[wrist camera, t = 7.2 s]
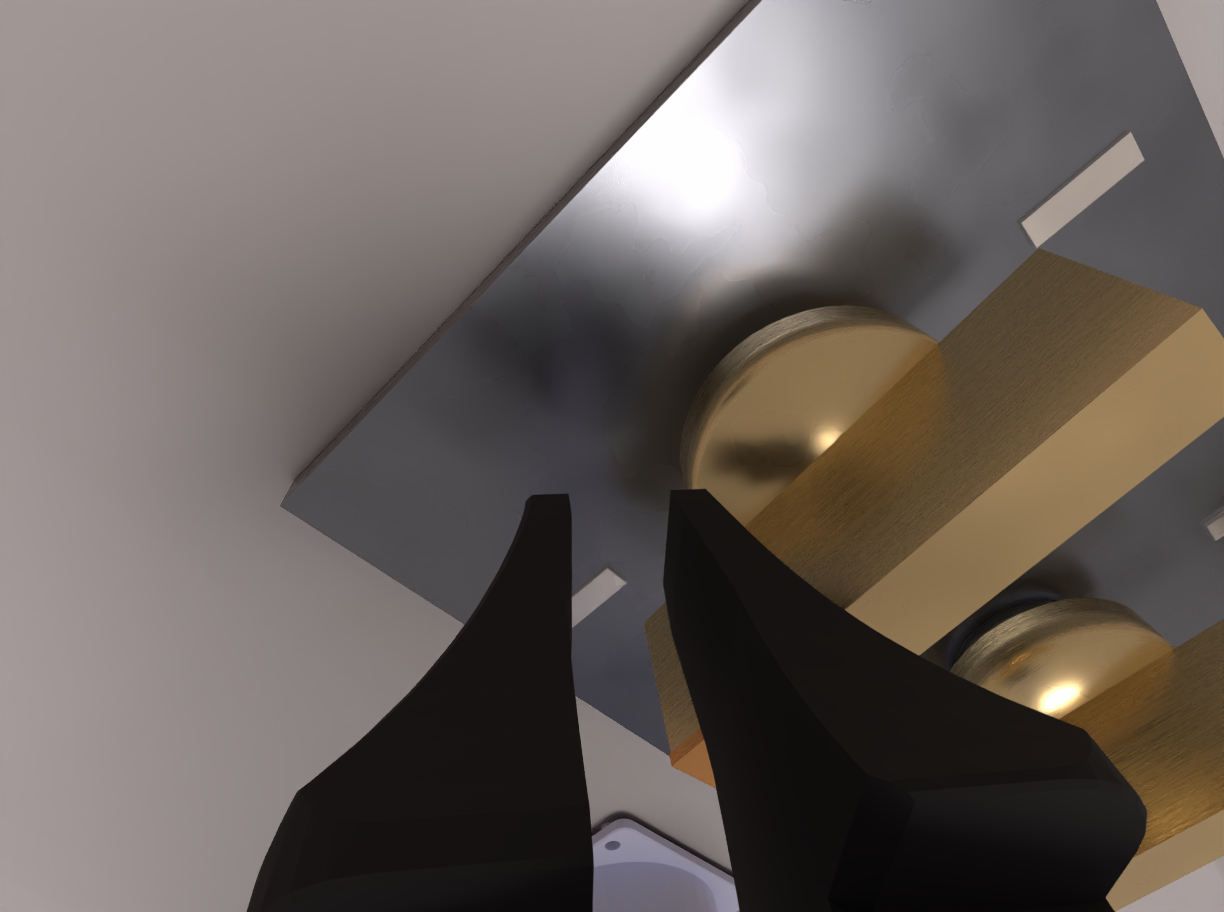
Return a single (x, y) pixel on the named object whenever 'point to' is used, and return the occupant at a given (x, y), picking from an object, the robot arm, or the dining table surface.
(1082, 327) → the brass lever handle
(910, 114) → the plate
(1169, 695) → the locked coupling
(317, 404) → the dining table surface
